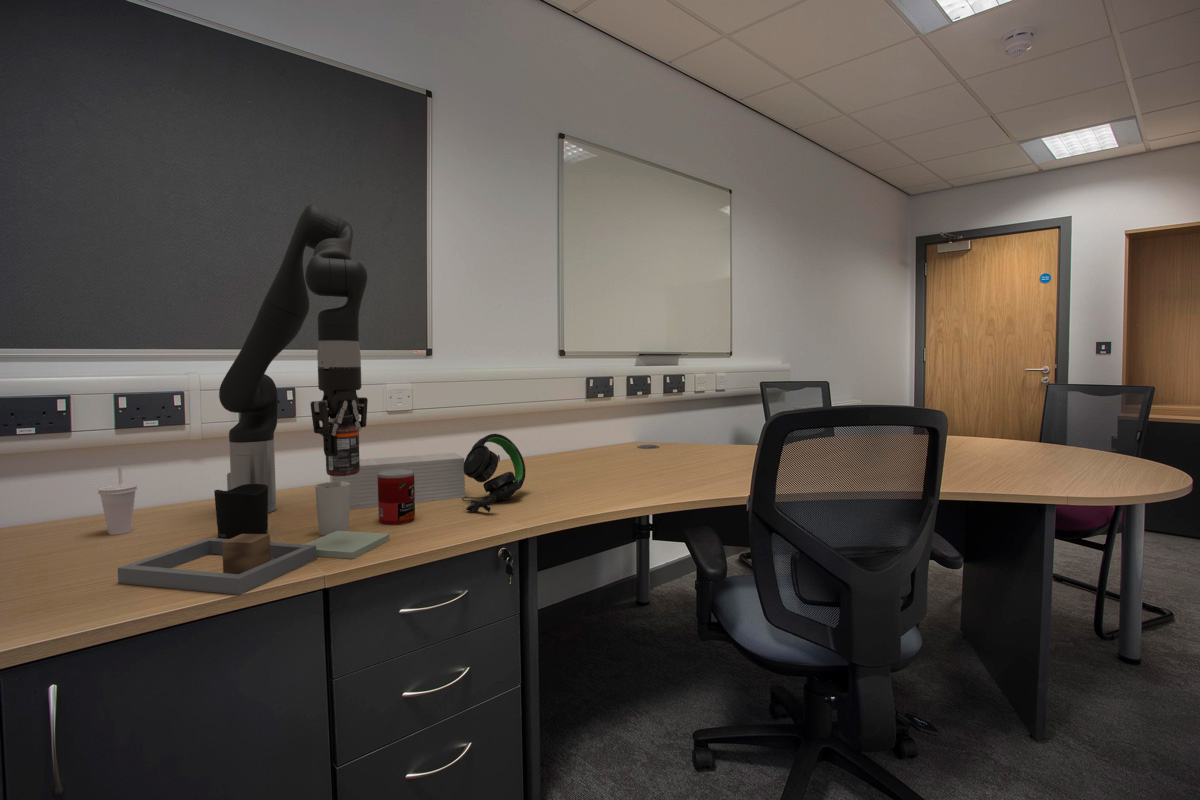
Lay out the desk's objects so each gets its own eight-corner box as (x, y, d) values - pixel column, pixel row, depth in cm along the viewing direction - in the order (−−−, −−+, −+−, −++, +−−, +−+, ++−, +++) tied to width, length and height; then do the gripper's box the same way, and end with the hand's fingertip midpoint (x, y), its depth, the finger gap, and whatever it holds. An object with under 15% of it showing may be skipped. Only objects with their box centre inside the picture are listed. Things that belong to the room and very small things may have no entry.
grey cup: (315, 537, 121) (313, 488, 120) (317, 529, 127) (316, 483, 127) (350, 534, 123) (349, 486, 123) (351, 525, 130) (350, 480, 129)
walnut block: (223, 578, 98) (222, 542, 98) (243, 567, 103) (241, 533, 103) (252, 578, 98) (251, 542, 98) (271, 568, 103) (269, 534, 102)
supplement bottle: (332, 471, 117) (331, 414, 116) (363, 471, 117) (362, 413, 116) (321, 477, 111) (319, 416, 110) (354, 476, 111) (352, 416, 110)
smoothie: (145, 530, 127) (142, 465, 126) (110, 538, 121) (107, 470, 120) (128, 526, 129) (125, 463, 129) (93, 534, 124) (89, 467, 123)
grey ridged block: (455, 490, 167) (454, 452, 167) (465, 498, 158) (464, 457, 157) (330, 503, 153) (329, 461, 152) (333, 512, 143) (332, 467, 142)
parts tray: (118, 583, 96) (117, 567, 96) (209, 550, 112) (209, 537, 112) (239, 594, 91) (238, 578, 90) (316, 558, 107) (316, 545, 107)
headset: (478, 539, 146) (519, 472, 167) (513, 525, 139) (551, 457, 161) (433, 492, 141) (481, 429, 163) (467, 474, 135) (513, 412, 156)
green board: (295, 554, 110) (295, 548, 110) (337, 536, 122) (337, 530, 122) (352, 558, 107) (352, 552, 107) (389, 539, 119) (389, 534, 119)
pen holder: (221, 533, 124) (219, 486, 124) (272, 528, 128) (270, 482, 127) (211, 545, 116) (209, 495, 115) (266, 539, 119) (265, 490, 119)
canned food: (404, 525, 130) (403, 475, 129) (371, 523, 131) (370, 474, 131) (421, 517, 137) (420, 469, 137) (390, 515, 139) (389, 468, 138)
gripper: (346, 365, 120) (348, 447, 121) (295, 365, 106) (298, 458, 107) (379, 365, 119) (381, 448, 120) (332, 365, 105) (334, 459, 106)
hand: (342, 452), depth 114 cm, fingers closed on supplement bottle, 6 cm apart
